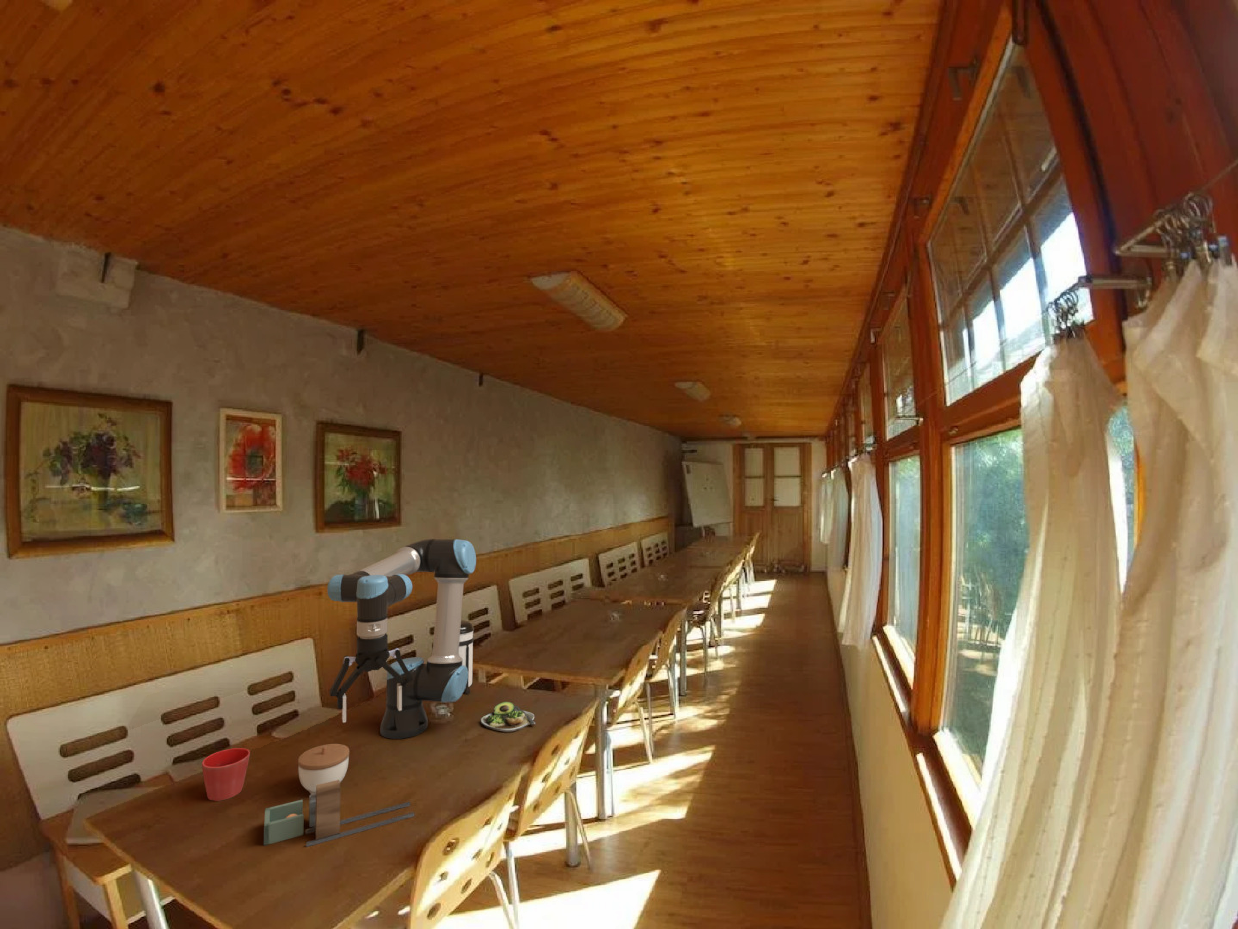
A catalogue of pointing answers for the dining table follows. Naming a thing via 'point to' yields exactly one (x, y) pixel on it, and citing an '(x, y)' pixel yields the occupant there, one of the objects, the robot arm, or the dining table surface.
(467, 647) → the coffee press
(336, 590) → the robot arm
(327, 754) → the lidded bowl
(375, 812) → the guide rails
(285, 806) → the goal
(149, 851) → the dining table surface
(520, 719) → the avocado toast plate
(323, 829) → the brown boxy piece
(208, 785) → the flower pot
